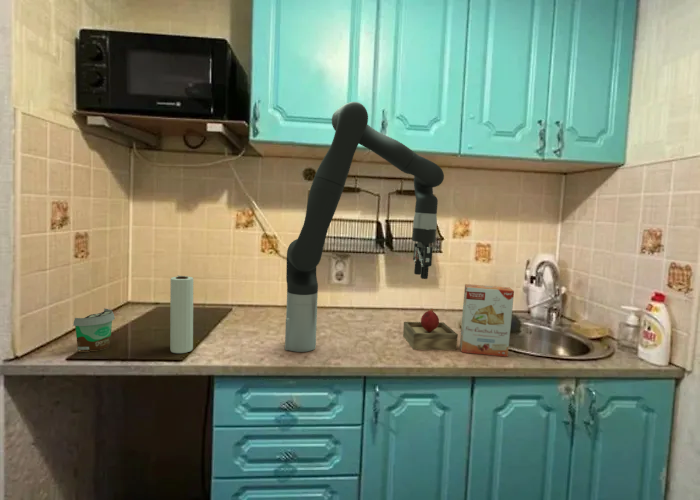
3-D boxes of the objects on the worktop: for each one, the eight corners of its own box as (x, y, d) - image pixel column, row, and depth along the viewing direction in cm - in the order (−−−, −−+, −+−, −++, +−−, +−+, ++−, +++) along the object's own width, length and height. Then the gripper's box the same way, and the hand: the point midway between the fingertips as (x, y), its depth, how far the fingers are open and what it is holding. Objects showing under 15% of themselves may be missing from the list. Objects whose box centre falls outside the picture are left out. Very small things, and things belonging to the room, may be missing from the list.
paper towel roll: (187, 354, 121) (188, 279, 119) (166, 353, 122) (166, 278, 119) (197, 346, 129) (198, 275, 126) (177, 345, 129) (177, 274, 127)
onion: (427, 335, 138) (429, 311, 137) (416, 330, 143) (418, 306, 142) (441, 333, 141) (443, 309, 140) (430, 329, 146) (432, 305, 145)
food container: (93, 356, 117) (93, 320, 116) (73, 354, 118) (73, 318, 117) (124, 342, 129) (124, 309, 128) (106, 340, 130) (105, 308, 129)
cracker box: (461, 353, 133) (466, 286, 131) (459, 347, 139) (464, 283, 137) (508, 357, 131) (514, 290, 129) (504, 351, 137) (510, 286, 135)
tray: (413, 349, 135) (414, 333, 134) (403, 335, 149) (403, 321, 148) (456, 349, 136) (457, 334, 136) (442, 336, 150) (443, 322, 150)
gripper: (408, 225, 147) (404, 272, 149) (418, 227, 133) (414, 279, 135) (429, 227, 148) (426, 273, 149) (442, 229, 134) (438, 280, 135)
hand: (420, 276), depth 142 cm, fingers open, 8 cm apart
